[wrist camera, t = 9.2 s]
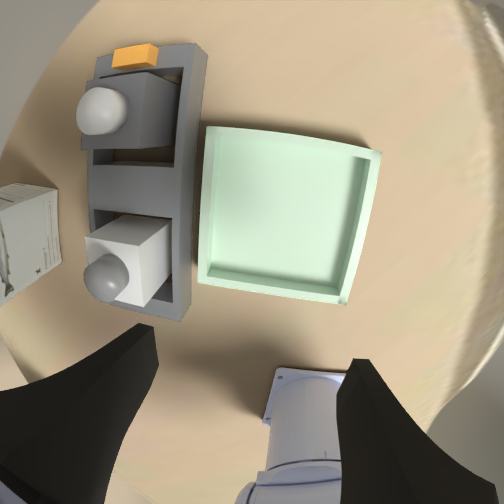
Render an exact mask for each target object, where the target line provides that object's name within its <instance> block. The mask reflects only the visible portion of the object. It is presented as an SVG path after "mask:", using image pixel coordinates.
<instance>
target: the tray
mask: <svg viewBox="0 0 504 504" xmlns="http://www.w3.org/2000/svg"><path fill="white" fill-rule="evenodd" d="M381 154H382V152H380V151H376V150H372V149H367V148H363V147H359V146H354V145H350V144H345V143H340V142H335V141H330V140H324V139H319V138H313V137H307V136H301V135H294V134H287V133H280V132H272V131H263V130H254V129H243V128H231V127H216V126H207V129H206V140H205V151H204V163H203V176H202V190H201V206H200V225H199V248H198V283H203V284H208V285H214V286H220V287H226V288H232V289H238V290H244V291H250V292H257V293H263V294H270V295H276V296H283V297H290V298H297V299H304V300H312V301H319V302H327V303H335V304H343V305H346V303H347V300H348V296H349V293H350V290H351V286H352V283H353V280H354V276H355V273H356V269H357V266H358V262H359V258H360V254H361V251H362V247H363V243H364V239H365V235H366V230H367V226H368V222H369V217H370V213H371V208H372V204H373V199H374V194H375V189H376V183H377V178H378V172H379V166H380V160H381Z"/></svg>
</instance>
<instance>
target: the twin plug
mask: <svg viewBox="0 0 504 504" xmlns="http://www.w3.org/2000/svg"><path fill="white" fill-rule="evenodd" d="M85 246H86V254H87V261H88V266H87V267H86V269H85V271H84V282H85V285H86V287H87V289H88V291H89V292H90V293H91V294H92V296H94V297H95V298H96V299H98V300H99V301H102V302H111V301H113V300H118V301H121V302H125V303H129V304H133V305H137V306H141V307H144V306H145V305H146V304H147V303H148V301H149V300H150V299H151V298H152V296H153V295H154V294H155V293H156V291H157V290H158V289H159V288H160V286H161V285H162V284H163V283H164V282H165V280H166V279H167V278H168V277H169V275H170V274H171V273H172V220H165V219H158V218H149V217H141V216H133V215H123V216H121V217H119V218H117V219H115V220H114V221H112V222H110V223H108V224H106V225H104V226H103V227H101V228H99V229H97V230H96V231H94V232H92V233H90V234H89V235H87V236H85Z"/></svg>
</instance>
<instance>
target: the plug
mask: <svg viewBox="0 0 504 504" xmlns="http://www.w3.org/2000/svg"><path fill="white" fill-rule="evenodd" d="M180 93H181V86H179V85H177V84H174V83H172V82H170V81H167V80H165V79H163V78H160V77H158V76H156V75H153V74H151V73H148V72H143V73H135V74H127V75H120V76H114V77H108V78H102V79H97V80H92V81H87V85H86V92H85V94H84V95H83V96H82V98H81V99H80V101H79V103H78V106H77V110H76V122H77V125H78V127H79V129H80V130H81V131H82V139H81V150H86V149H141V148H151V147H161V146H173V145H175V144H176V132H177V121H178V111H179V102H180Z"/></svg>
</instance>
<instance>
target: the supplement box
mask: <svg viewBox="0 0 504 504" xmlns="http://www.w3.org/2000/svg"><path fill="white" fill-rule="evenodd" d="M57 198H58V190H57V189H53V188H48V187H41V186H35V185H29V184H22V183H14V184H10V185H7V186H4V187H0V307H1V306H2V305H4V304H5V303H6V302H8V301H9V300H10V299H12V298H13V297H14V296H16V295H17V294H18V293H19V292H21V291H22V290H24V289H25V288H26V287H28V286H29V285H30V284H32V283H33V282H35V281H36V280H38V279H39V278H40V277H42V276H43V275H45V274H46V273H48V272H49V271H50V270H52V269H53V268H55V267H57V266H58V265H60V264H61V263H62V259H61V253H60V244H59V234H58V212H57Z"/></svg>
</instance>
